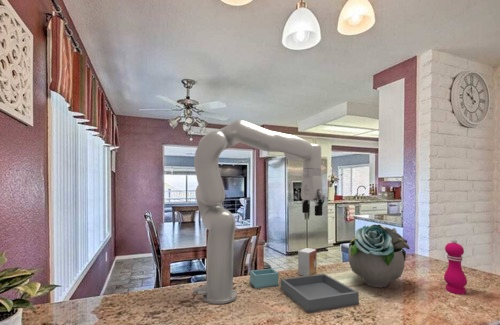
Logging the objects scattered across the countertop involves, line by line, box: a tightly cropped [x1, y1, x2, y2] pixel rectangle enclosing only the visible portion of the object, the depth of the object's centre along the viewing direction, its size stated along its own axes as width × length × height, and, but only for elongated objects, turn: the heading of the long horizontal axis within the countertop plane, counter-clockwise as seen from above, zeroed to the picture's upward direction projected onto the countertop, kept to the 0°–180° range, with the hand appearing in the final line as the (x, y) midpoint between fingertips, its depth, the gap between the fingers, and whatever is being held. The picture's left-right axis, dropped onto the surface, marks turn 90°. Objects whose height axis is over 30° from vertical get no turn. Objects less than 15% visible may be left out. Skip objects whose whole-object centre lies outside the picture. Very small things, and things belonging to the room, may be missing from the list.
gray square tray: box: [280, 273, 360, 314], centre depth 102 cm, size 20×20×4 cm
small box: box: [297, 247, 317, 276], centre depth 127 cm, size 8×6×10 cm
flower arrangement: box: [347, 224, 411, 288], centre depth 116 cm, size 25×25×24 cm
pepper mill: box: [443, 238, 468, 295], centre depth 109 cm, size 7×7×20 cm
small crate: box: [249, 268, 280, 290], centre depth 114 cm, size 10×6×5 cm, turn 110°
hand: (311, 214), depth 117 cm, fingers open, 9 cm apart
